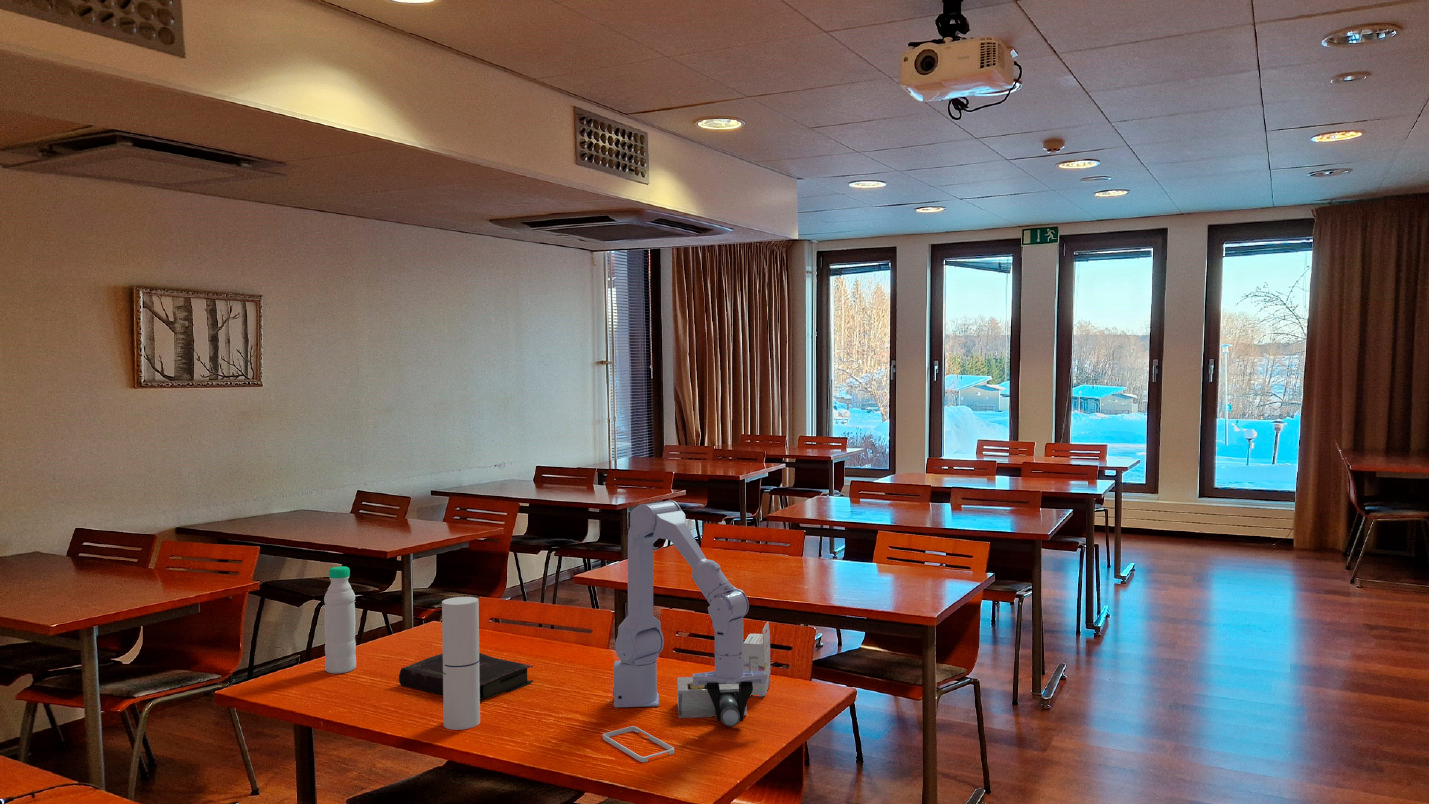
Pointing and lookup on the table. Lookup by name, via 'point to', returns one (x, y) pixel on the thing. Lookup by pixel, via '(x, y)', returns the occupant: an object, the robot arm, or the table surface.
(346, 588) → the water bottle
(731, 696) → the cartridge
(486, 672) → the diary
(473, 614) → the cylindrical container
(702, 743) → the table surface
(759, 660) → the ink cartridge box
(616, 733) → the phone case
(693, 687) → the plunger
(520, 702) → the table surface
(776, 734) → the table surface
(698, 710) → the housing
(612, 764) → the table surface
